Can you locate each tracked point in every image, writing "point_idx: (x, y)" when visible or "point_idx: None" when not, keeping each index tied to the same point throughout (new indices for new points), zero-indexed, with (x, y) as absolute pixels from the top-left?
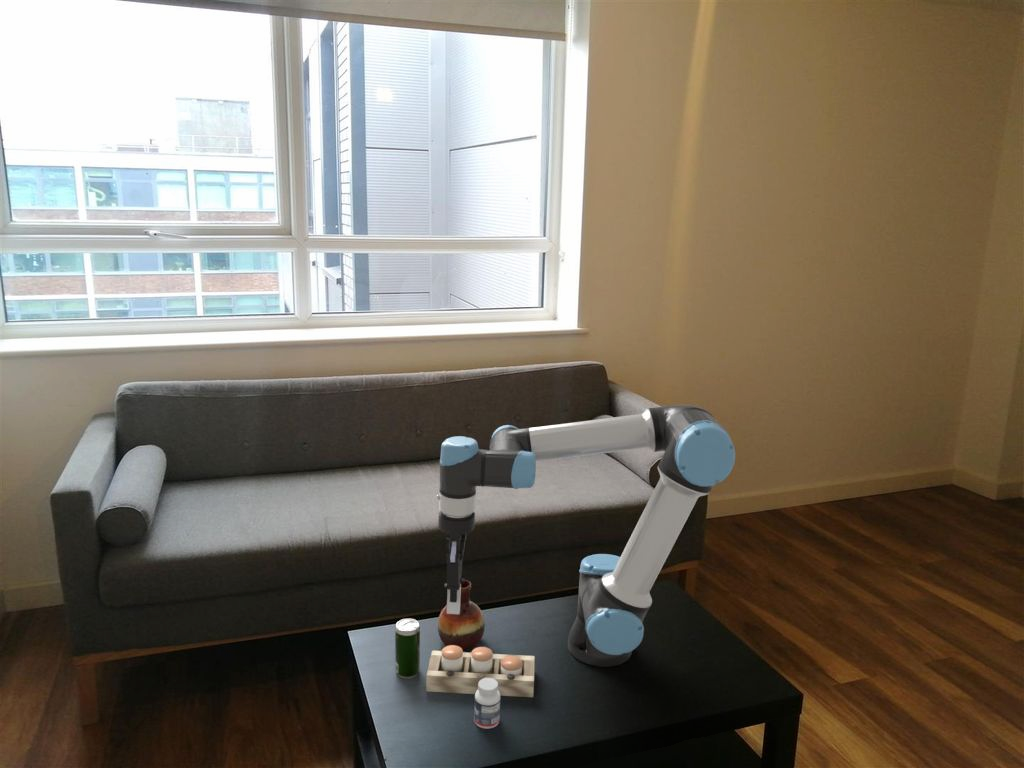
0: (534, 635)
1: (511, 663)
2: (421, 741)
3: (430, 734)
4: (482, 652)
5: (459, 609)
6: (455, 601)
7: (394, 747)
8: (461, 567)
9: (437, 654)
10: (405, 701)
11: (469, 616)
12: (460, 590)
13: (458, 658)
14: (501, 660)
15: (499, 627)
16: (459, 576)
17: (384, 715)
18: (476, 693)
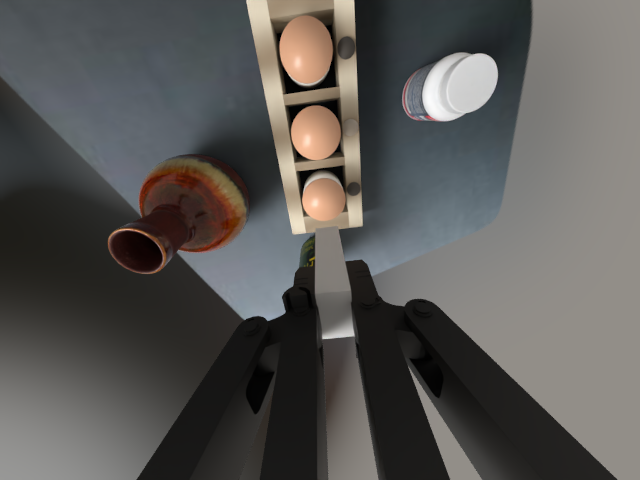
0: (115, 29)
1: (311, 50)
2: (468, 192)
3: (454, 184)
4: (313, 133)
5: (338, 233)
6: (364, 265)
7: (476, 223)
8: (251, 363)
9: (301, 223)
10: (382, 235)
11: (204, 194)
12: (332, 274)
13: (338, 183)
14: (305, 82)
15: (133, 128)
16: (406, 362)
17: (412, 251)
18: (454, 116)
